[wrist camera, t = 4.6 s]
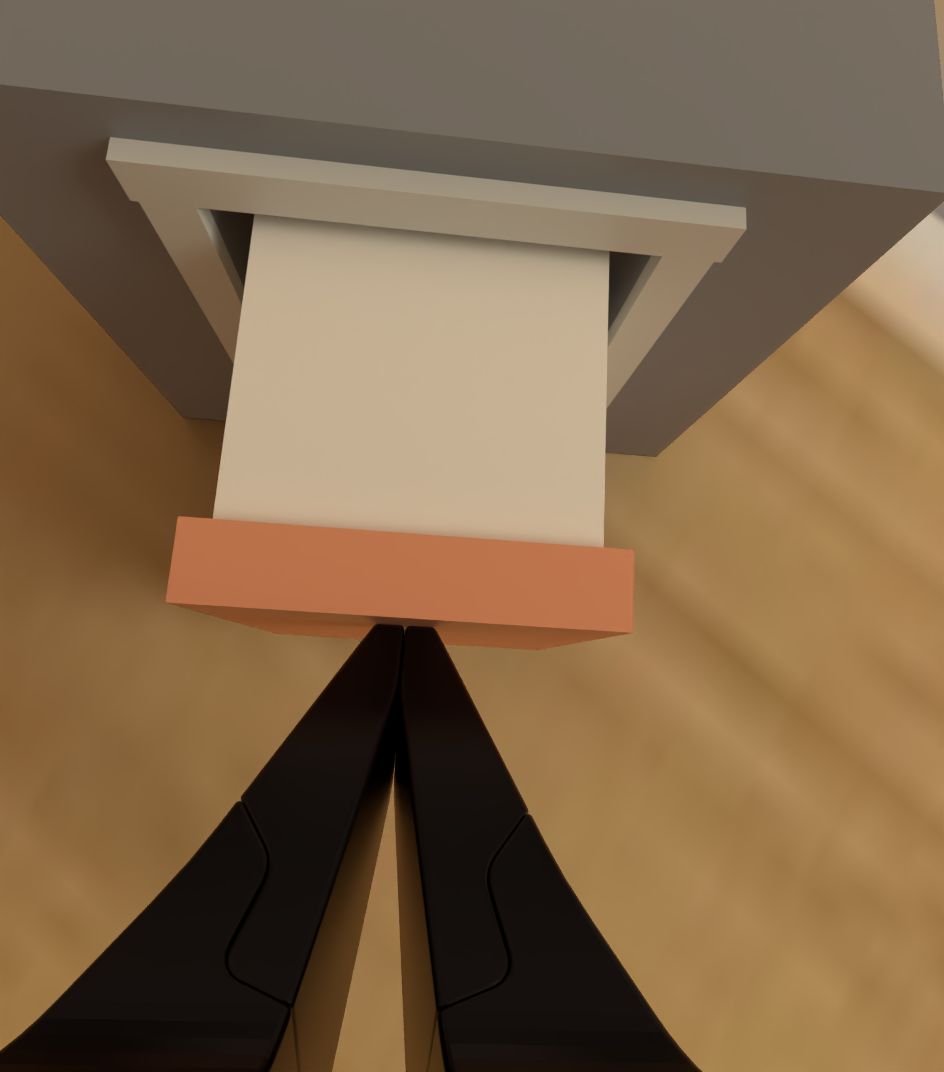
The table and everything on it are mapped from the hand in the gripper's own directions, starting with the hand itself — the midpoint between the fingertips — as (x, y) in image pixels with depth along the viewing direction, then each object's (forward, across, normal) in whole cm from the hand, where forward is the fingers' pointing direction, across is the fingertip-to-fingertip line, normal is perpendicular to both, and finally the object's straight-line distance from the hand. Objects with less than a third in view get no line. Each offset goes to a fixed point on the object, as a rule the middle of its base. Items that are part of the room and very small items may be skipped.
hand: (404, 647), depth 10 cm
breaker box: (+10, 0, 0) cm, 10 cm away
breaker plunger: (+7, 0, 0) cm, 7 cm away
